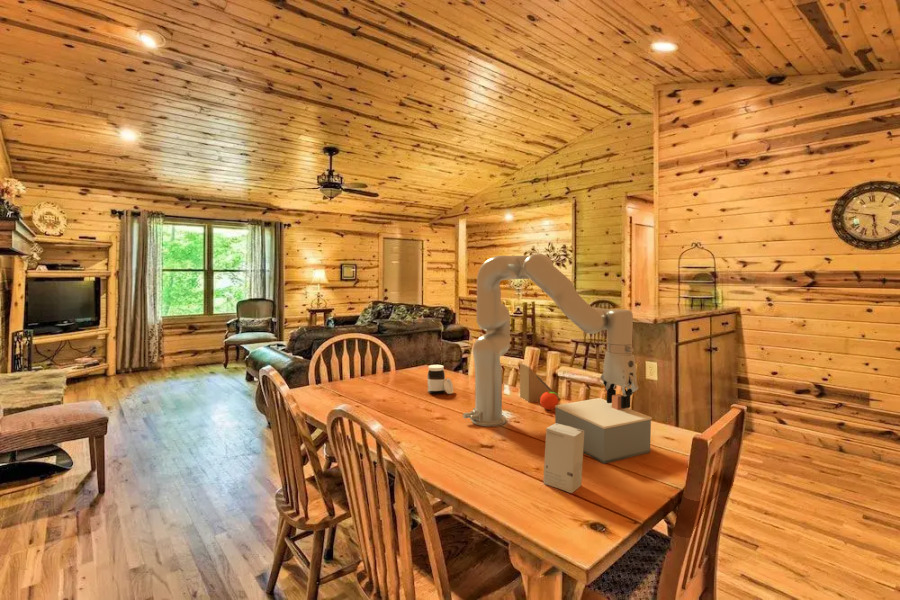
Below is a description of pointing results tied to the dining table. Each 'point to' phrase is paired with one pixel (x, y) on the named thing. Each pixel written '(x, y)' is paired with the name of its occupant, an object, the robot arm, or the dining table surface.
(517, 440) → the dining table surface
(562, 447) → the skincare box
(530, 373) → the sandwich container
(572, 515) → the dining table surface
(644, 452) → the carton
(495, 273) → the robot arm
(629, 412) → the lid flap
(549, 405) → the tomato
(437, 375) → the spread jar
